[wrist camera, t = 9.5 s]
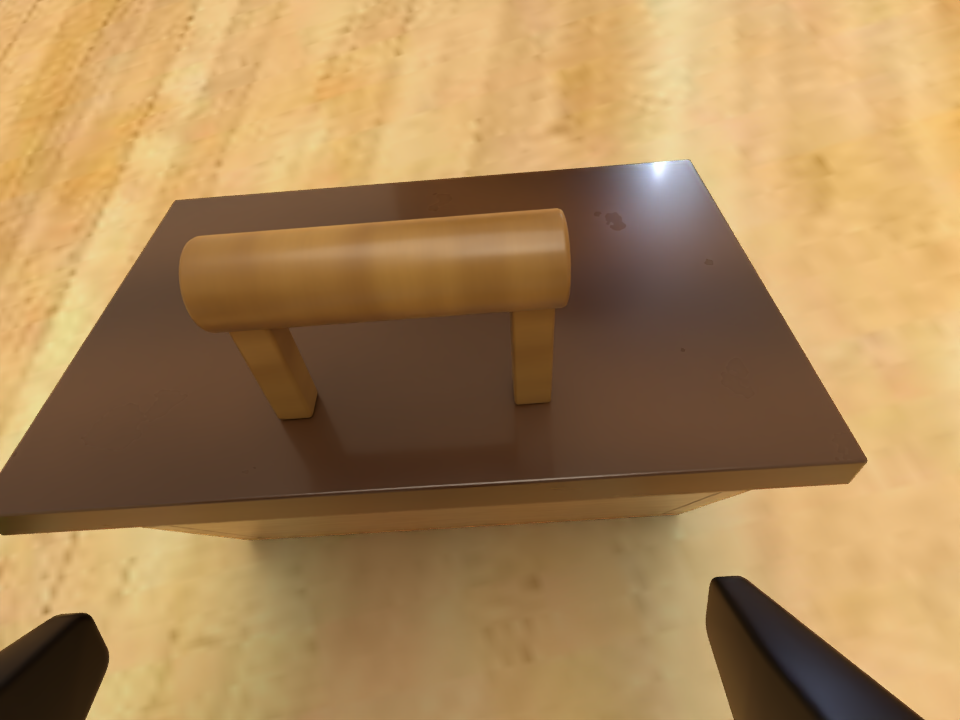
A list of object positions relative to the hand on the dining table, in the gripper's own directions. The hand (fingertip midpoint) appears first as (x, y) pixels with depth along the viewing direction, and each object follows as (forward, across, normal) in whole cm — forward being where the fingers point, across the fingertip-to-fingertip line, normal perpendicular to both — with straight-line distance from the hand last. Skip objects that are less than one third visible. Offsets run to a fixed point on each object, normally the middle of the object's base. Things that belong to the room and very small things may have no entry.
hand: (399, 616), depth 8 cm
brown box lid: (+7, 0, -2) cm, 7 cm away
